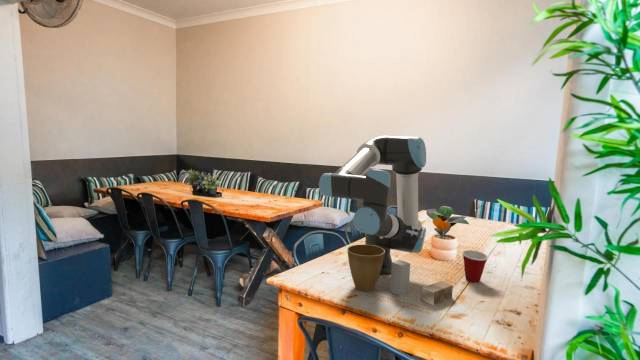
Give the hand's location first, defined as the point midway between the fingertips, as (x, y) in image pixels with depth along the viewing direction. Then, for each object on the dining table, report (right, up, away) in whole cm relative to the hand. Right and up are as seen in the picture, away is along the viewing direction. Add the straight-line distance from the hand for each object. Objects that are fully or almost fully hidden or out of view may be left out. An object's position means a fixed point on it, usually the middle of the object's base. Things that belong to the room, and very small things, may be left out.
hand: (420, 234), depth 133 cm
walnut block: (+3, -23, +2) cm, 24 cm away
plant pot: (-19, -24, +14) cm, 34 cm away
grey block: (-6, -25, +11) cm, 27 cm away
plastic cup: (+30, -24, +26) cm, 47 cm away
